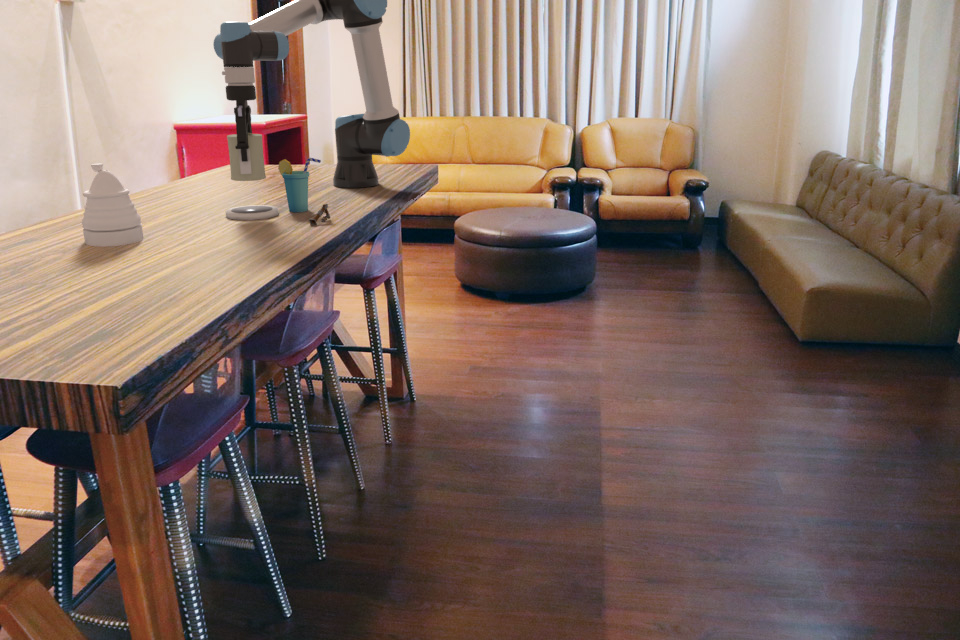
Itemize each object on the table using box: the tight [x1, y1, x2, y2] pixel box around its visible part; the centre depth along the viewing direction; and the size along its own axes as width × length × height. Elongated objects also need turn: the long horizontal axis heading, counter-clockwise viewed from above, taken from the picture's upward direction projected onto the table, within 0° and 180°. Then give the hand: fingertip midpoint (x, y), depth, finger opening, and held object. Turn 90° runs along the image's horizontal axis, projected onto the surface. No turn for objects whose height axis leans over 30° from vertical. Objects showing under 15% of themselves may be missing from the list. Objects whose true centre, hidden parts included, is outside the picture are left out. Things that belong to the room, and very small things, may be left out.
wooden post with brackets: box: [308, 203, 331, 226], centre depth 212 cm, size 2×8×4 cm, turn 157°
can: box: [226, 132, 267, 182], centre depth 218 cm, size 9×9×12 cm
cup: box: [278, 157, 322, 213], centre depth 226 cm, size 14×8×15 cm, turn 73°
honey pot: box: [81, 163, 144, 248], centre depth 190 cm, size 13×13×18 cm
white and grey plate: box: [225, 204, 280, 221], centre depth 222 cm, size 14×14×2 cm
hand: (248, 171), depth 219 cm, fingers closed on can, 9 cm apart
